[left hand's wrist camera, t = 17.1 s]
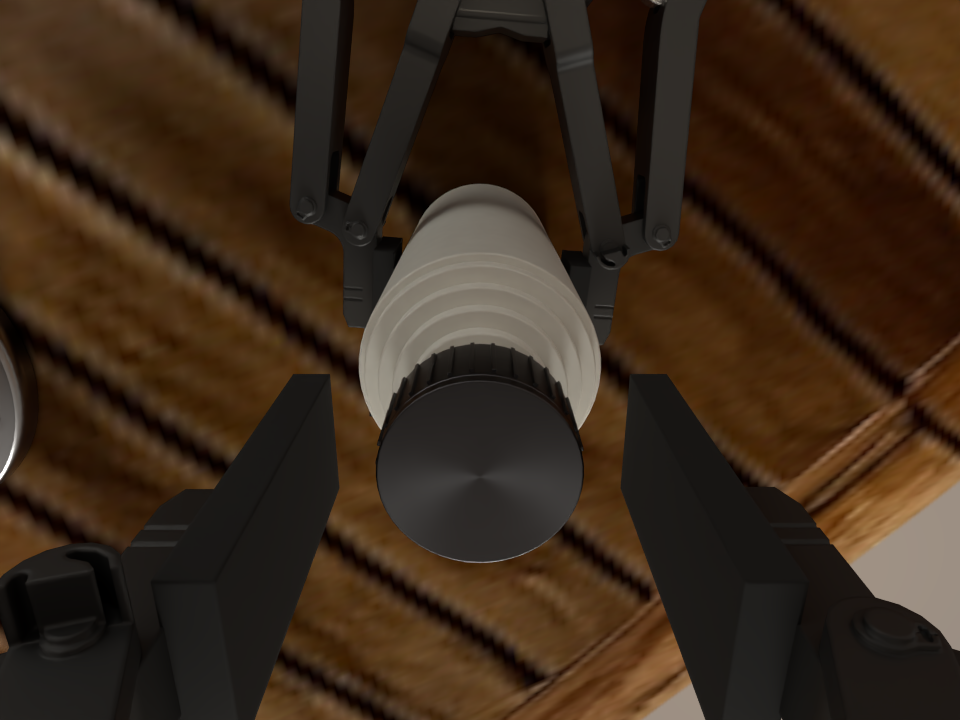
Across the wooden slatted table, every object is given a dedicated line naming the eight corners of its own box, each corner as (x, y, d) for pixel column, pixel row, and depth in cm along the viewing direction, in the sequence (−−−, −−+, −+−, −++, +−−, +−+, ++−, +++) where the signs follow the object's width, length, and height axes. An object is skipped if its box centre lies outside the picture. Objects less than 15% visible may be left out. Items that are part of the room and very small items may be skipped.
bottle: (557, 192, 31) (674, 328, 12) (536, 324, 33) (609, 609, 14) (418, 175, 31) (323, 288, 12) (407, 309, 33) (311, 579, 14)
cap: (354, 381, 14) (335, 424, 12) (534, 311, 14) (543, 345, 12) (432, 531, 16) (425, 590, 14) (598, 472, 15) (615, 526, 13)
